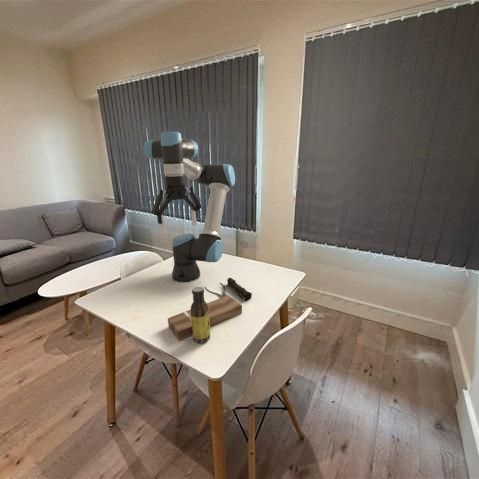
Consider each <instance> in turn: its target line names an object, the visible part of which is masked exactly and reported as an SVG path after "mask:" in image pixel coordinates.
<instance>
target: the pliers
mask: <svg viewBox="0 0 479 479" xmlns="http://www.w3.org/2000/svg"><path fill="white" fill-rule="evenodd" d="M219 285H221V286H222V287H223V290H222V294H220V293H218V292H214V291H212V290H209V289H208V288H207V287H206V286H204V290H206V291H207V292H208V293H211V294H212V295H216V296H218V298H219V299H220V298H222V297H225V296H228V295H229V294H227V293H226V285H225V284H223V283H222V282H219Z"/></svg>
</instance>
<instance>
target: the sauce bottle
mask: <svg viewBox="0 0 479 479" xmlns="http://www.w3.org/2000/svg"><path fill="white" fill-rule="evenodd" d="M191 294H192V301H193V302H192V303H191V305H190V310H191V321H192V331H193V335H192V336H193V341H194V342H195V343H196V344H197V343H198V344H204V343H206V342H208V341H209V340H210V338H211V327H210V321H209V309H208V305H207V303H208V302H206V300H205V287H203V286H194V287H193V288H192V290H191Z"/></svg>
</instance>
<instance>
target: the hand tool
mask: <svg viewBox="0 0 479 479" xmlns="http://www.w3.org/2000/svg"><path fill="white" fill-rule="evenodd" d="M226 282H227V285H228V287H229V288H230V289H231V290H233V291H234V292H235V293H237V294H238V295H239V296H241V297H242V298H243V299H244V301H245V302H247V301H249V300H251V299H252V297H253V296H252V295H253V294H252V292H251V291H248V290H247V289H246V288H245V287H242V286H241V285H240V284H238V283H237V282H236V280H235V279H234V278H232V277H228V278H227V280H226Z"/></svg>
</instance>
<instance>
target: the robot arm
mask: <svg viewBox="0 0 479 479" xmlns="http://www.w3.org/2000/svg"><path fill="white" fill-rule="evenodd" d="M143 154H144V155H145V157H146V158H147V159H149V160H159V161H160V162H162V163H163V164H162V165H163V174H164V184H165V189H157V196H156V199H155V202H154V205H153V207H152V210H151V214H152V215H154V216H156V218H157V224H159V226H160V232H162V233H166V225H165V224H166V222H165V216H164V215H163V213H164V212H165V211H166V209H167V207H168V206H169V204H170V203H171V202H172V201H176V200H184V202H185V203H187V205H188V206H189V207H190V208H191V210H190V212H191V213H190V214H191V215H190V216H191V226H192V227H197V226H198V225H197V218H198V217H199V216H198V211H199V210H200V209H202V204H201V203H200V201H199V200H198V198H197V195H196V194H195V192H194V187H193V186H187V187H186V180H185V179H186V178H188V179H189V180H190V181H192V182H194V183H197V184H199V185H202V186H208V188H209V189H210V193H209V197H208V203H207V206H206V207H207V209H206V212H205V213H206V214H205V219H204V223H203V229H202V232H200V233H199V234H198V238H196V237H195V235H194V234H193V233H183V234H180V235H177V236H175V237H173V238H172V241H171V247H172V254H173V263H174V264H173V268H172V272H171V277H172V278H171V279H172V280H173V281H175V282H178V283H189V282H193V281H195V280H197V279H199V278H200V277H201V270H200V267H199V265H198V263H197V261H198V262H207V263H217V262H219V260H220V259H221V258H222V257H223V253H224V250H225V248H224V242H223V240H222V236H221V235H220V232H221V231H220V230H221V224H222V218H223V213H224V208H225V202H226V197H227V193H228V192H230V189H231V187H234V186H235V183H236V176H235V175H236V174H235V170H234V166H232V165H231V164H226V163H221V164H220V163H219V164H218V163H215V164H211V163H209V164H208V163H205V164H204V163H203V164H201V163H199V162H196V161H192V160H191V159H194V158H196V157H197V155H198V154H199V146H198V143H197V142H196V141H195V140H193V139H190V138H183V137H182V133H181V132H180V131H163V132H161V133H160V139H152V140H147V141H145V142H144V143H143ZM186 192H187V193H188V194H189V197H190V198H191V199H192V201H191V199H190V198H189V197H188V196H187V194H186ZM165 195H166V197H165V198H164V196H165ZM163 198H164V200H163ZM162 201H163V202H162ZM161 203H162V204H161Z"/></svg>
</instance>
